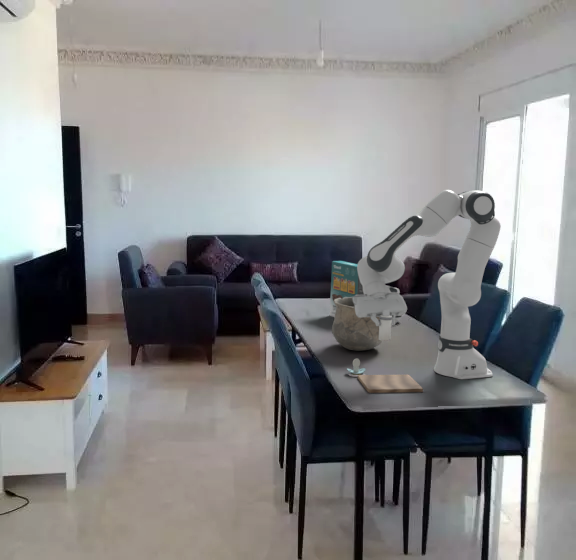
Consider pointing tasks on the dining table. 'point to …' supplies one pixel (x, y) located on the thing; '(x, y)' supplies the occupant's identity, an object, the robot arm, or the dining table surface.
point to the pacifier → (356, 369)
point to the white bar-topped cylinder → (385, 326)
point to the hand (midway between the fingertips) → (386, 325)
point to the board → (389, 383)
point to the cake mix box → (344, 282)
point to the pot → (354, 327)
